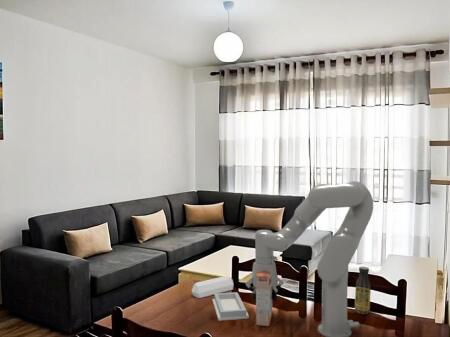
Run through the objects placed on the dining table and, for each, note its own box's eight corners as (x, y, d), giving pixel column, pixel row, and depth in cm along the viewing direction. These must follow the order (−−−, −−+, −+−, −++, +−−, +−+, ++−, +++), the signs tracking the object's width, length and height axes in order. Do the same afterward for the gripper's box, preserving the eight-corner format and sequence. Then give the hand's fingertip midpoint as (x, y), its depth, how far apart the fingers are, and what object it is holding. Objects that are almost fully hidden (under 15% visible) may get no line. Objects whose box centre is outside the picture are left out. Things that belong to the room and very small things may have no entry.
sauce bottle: (353, 313, 174) (353, 268, 173) (356, 308, 179) (356, 264, 179) (369, 316, 171) (369, 270, 170) (371, 311, 176) (371, 266, 176)
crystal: (198, 293, 190) (238, 283, 204) (191, 282, 195) (231, 273, 209) (194, 304, 194) (234, 293, 207) (187, 293, 198) (227, 283, 212)
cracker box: (270, 327, 161) (270, 276, 160) (255, 326, 163) (255, 275, 162) (273, 313, 175) (273, 266, 174) (259, 312, 176) (259, 265, 175)
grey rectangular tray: (239, 299, 192) (239, 292, 191) (248, 318, 170) (248, 310, 170) (212, 301, 190) (212, 293, 190) (218, 320, 168) (218, 312, 168)
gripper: (281, 256, 173) (282, 296, 173) (242, 258, 170) (242, 299, 171) (287, 261, 165) (287, 303, 166) (245, 263, 163) (246, 306, 164)
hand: (264, 300), depth 168 cm, fingers closed on cracker box, 7 cm apart
